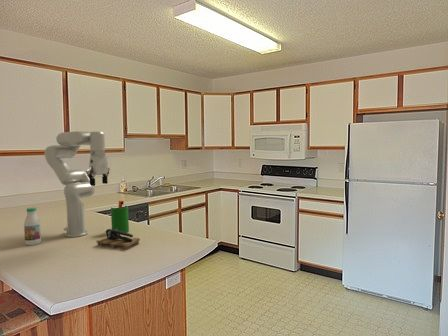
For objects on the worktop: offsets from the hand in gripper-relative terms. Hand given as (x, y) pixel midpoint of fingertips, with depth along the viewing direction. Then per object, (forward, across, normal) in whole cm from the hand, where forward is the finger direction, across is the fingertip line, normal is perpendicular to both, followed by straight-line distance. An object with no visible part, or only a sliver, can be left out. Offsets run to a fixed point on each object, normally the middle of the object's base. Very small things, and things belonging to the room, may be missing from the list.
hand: (98, 184), depth 182 cm
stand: (+32, -2, -14) cm, 35 cm away
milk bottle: (+32, -16, +33) cm, 49 cm away
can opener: (+30, -3, -15) cm, 33 cm away
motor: (+32, +20, +2) cm, 38 cm away
